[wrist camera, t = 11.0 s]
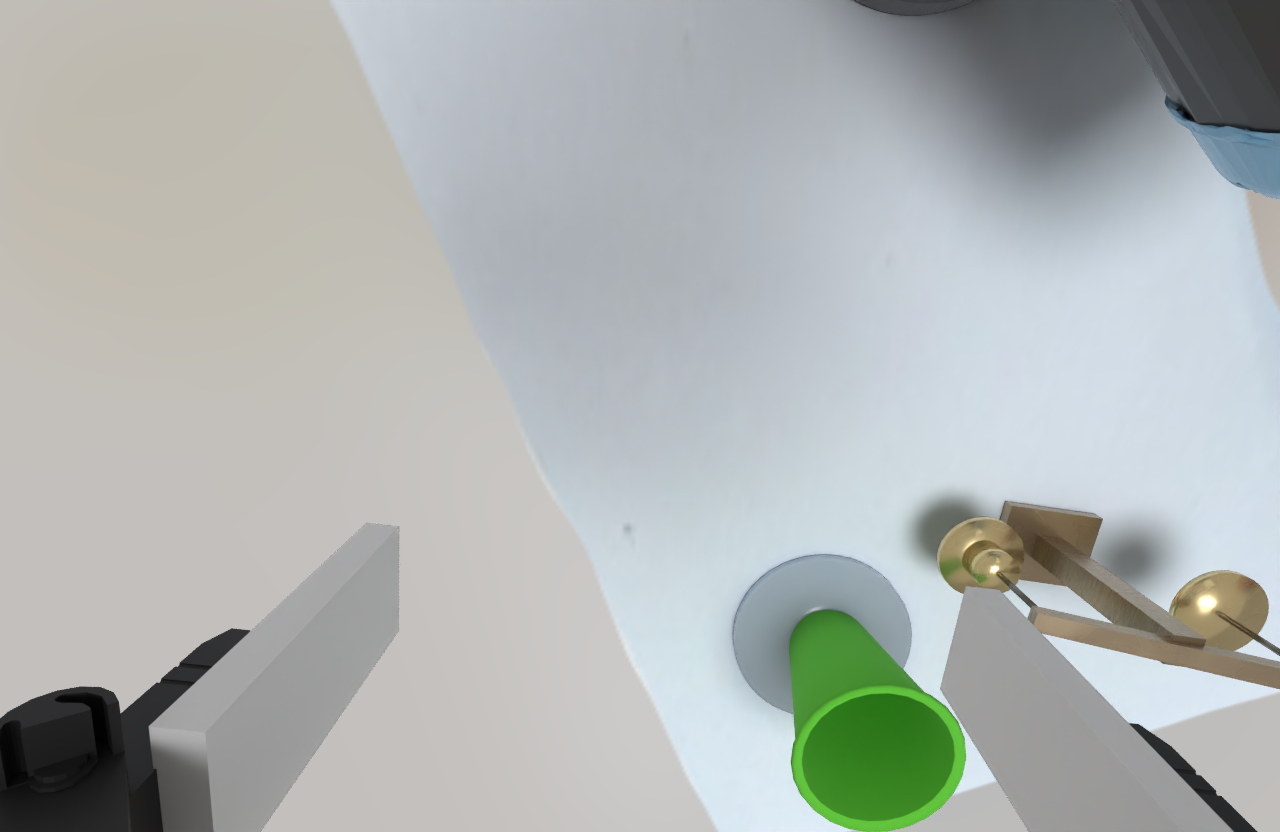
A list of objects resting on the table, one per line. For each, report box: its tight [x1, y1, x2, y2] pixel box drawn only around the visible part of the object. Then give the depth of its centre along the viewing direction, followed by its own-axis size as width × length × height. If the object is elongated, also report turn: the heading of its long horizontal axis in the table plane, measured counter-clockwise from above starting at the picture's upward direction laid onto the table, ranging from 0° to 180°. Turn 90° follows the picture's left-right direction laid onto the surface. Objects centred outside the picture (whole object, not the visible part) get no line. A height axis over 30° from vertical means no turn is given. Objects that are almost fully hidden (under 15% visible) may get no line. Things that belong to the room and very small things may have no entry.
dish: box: [733, 555, 912, 714], centre depth 45 cm, size 12×12×1 cm
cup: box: [789, 610, 966, 832], centre depth 39 cm, size 9×9×11 cm
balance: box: [937, 501, 1280, 689], centre depth 37 cm, size 17×5×14 cm, turn 82°
